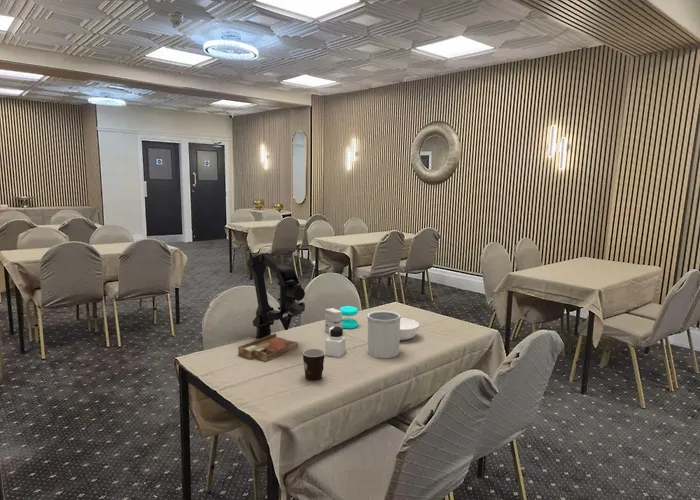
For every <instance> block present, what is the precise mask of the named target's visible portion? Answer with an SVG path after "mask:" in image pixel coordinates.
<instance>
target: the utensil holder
mask: <svg viewBox="0 0 700 500" xmlns="http://www.w3.org/2000/svg"><path fill="white" fill-rule="evenodd" d="M366 317H367V353H368V354H369V355H370V356H371V357H374V358H378V359H391V358H394V357H397V356H398V355H399V352H400V351H399V350H400V340H399V339H400V319H401V318H402V316H401V314H400V313H398V312H396V311H393V310H392V311H391V310H374V311H372V312H368V313H367V316H366Z"/></svg>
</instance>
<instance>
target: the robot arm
mask: <svg viewBox="0 0 700 500" xmlns="http://www.w3.org/2000/svg"><path fill="white" fill-rule="evenodd" d="M246 266H247V268H248V272H249V273H250V274H251V276H252V277H253V281H254V287H255V293H256V299H257V308H256V311H255V317H254V319H253V321H252V326H253V327H255V328H256V335H255V336H254V337H253V338H254V339H256V340H258V339H261V338H264V337H266V336H269V335H272V334H271V332H272V329H271V326H273V325H274V323H275V321H280V322H281V324H282V327H283V328H284V331H288V329H289V327H290V326H291V325H290V324H291V322H292V319H293V318H295V317H298V316H300V315H301V316H302V314H303V312H305V310H306V303H305V302H304V301H303V300H304V298H305V296H306V292H305V289H304V288H303V287H302V284H300V281H299V278H298V276H297V274H296V271H295V270H294V268H293V267H290V266H288V265H285V264H282V263H281V262H280V261H278V260H277V259H276V258H275V257H274V256H272V254H271V253H270V252H263V253H259V254H258V255H255V256H254V257H249V258H248V260H247V261H246ZM267 267H268V268H269V269H270V270H271V271H272V272H274V273H275V274H274V275H275V278H276V279H277V281H278V282H277V283H276V285H277V286H279V297H278V298H277V301H278V302H279V306H278V307H277V310H276V309H274V307H272V306H271V305H270V304H269V299H268V292H267V287H266V280H265V273H266V271H267ZM296 301H298V302H296ZM299 301H301V302H299Z"/></svg>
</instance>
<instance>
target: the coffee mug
mask: <svg viewBox="0 0 700 500" xmlns="http://www.w3.org/2000/svg"><path fill="white" fill-rule="evenodd" d="M325 356H326V355H325V350H323V349H320V348H308V349H305V350H304V351H302V358H303V359H302V360H303V368H304V370H303V371H304V377H305V379H306V380H307V381H313V382H315V381H319V380H321V379H322V378H323V371H324V363H325Z"/></svg>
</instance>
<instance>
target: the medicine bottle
mask: <svg viewBox="0 0 700 500" xmlns="http://www.w3.org/2000/svg"><path fill="white" fill-rule="evenodd" d="M343 330H344V328H341V327H337V326H334V327H331V328H330V329H329V333H328V337H327V338H326V339H325V345H324V346H325V347H324V348H325V349H324V352H325V356H328V357H333V358H334V357H336V358H342V356H343V355H345V353H346V352H347V351H346V350H347V349H346V348H347V344H346V343H347V341H346V340H347V337H346V336H343V335H344V334H343V332H344V331H343Z"/></svg>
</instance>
